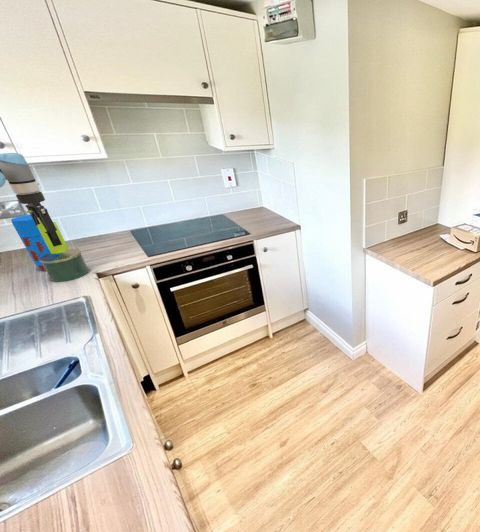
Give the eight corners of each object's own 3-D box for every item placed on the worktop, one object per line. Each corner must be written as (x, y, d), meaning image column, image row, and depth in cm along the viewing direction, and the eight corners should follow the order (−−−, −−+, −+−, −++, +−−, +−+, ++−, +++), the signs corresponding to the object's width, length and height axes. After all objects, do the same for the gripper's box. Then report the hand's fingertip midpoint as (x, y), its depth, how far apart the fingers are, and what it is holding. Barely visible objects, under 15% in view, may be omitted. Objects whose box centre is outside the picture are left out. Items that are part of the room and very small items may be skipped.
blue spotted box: (56, 260, 163) (31, 213, 152) (74, 262, 162) (50, 214, 151) (31, 270, 154) (3, 220, 142) (50, 272, 152) (23, 222, 141)
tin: (58, 284, 142) (46, 264, 138) (44, 277, 148) (33, 257, 143) (95, 272, 153) (86, 252, 148) (81, 265, 159) (72, 246, 154)
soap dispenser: (44, 253, 143) (21, 210, 134) (63, 247, 149) (42, 205, 140) (53, 255, 141) (30, 212, 132) (71, 249, 147) (51, 207, 138)
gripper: (50, 193, 132) (75, 245, 142) (31, 187, 139) (56, 237, 150) (25, 197, 126) (52, 251, 136) (6, 191, 134) (34, 242, 144)
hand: (54, 243), depth 143 cm, fingers closed on soap dispenser, 6 cm apart
